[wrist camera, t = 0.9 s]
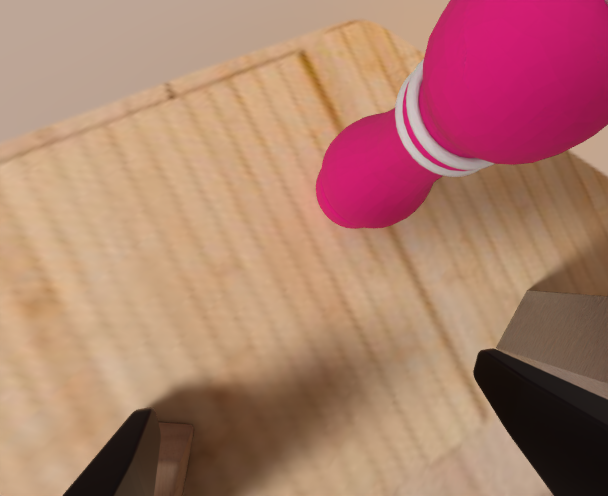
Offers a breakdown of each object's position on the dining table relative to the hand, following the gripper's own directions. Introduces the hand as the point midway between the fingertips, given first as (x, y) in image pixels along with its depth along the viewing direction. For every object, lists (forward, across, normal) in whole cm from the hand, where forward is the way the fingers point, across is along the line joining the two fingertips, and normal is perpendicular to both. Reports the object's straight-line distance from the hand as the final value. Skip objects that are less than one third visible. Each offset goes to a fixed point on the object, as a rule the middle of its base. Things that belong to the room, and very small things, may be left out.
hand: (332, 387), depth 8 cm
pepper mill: (+18, -7, -1) cm, 19 cm away
